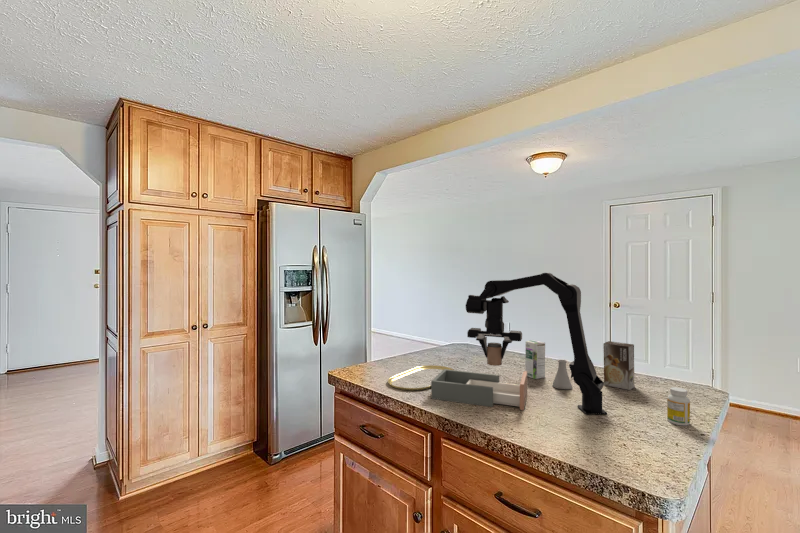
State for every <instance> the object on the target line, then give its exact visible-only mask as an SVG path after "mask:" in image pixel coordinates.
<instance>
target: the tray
mask: <svg viewBox="0 0 800 533" xmlns="http://www.w3.org/2000/svg"><path fill="white" fill-rule="evenodd" d="M466 384H470V385H479V386H487V387H493V404H498V405H504V406H505V405H506V406H511V407H512V406H514V407H519V410H521V411H524V410H525V406H526V402H527V397H528V376H527V371H525V370H523V372H522V375H521V379H520V381H519V384H514V383H508V382H507V383H506V382H500V381H499V382H490V381H481V380H472V379H470V380H469V381H468V382H467V383H466Z"/></svg>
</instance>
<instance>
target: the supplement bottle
mask: <svg viewBox="0 0 800 533" xmlns="http://www.w3.org/2000/svg"><path fill="white" fill-rule="evenodd" d="M669 389H670V390H669V392H670V394H668V395H667V397H666V398H667V400H666V401H667V405H666V407H667V410H666V412H667V413H666V414H667V416H666V418H667V421H668V422H669V423H670V424H673V425H677V426H682V427H683V426H684V427H685V426H689V425H690V423H691V400H690V398H689V397H688V390H687V389H685V388H683V387H676V386H675V387H674V386H672V387H670V388H669Z"/></svg>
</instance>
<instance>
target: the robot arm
mask: <svg viewBox="0 0 800 533" xmlns="http://www.w3.org/2000/svg"><path fill="white" fill-rule="evenodd" d="M543 285H544V286H545V287H546V288H548V289H549V290H550V291H551V292H552V293H554V294H555V295H557V297H558V299H559V302H560V304H561V307H562V309H563V310H564V313H565V314H566V319H567V321H566V322H567V324H568V332H569V336H570V341H571V342H570V343H571V346H572V352H573V358H574V359H573V360H572V361H571V362H570V363H569V364H568V366H569V370H570V373H571V375H570V378H571V379H573V381H574V383H575V384H576V385H578V387H579V390H580V393H581V404H578V405H577V408H579V410H581V411H582V412H583V413H584V414H586V415H608V412H607V411H606V410H604V409H603V391H602V389H603V387H604V386H605V385H604V380H602V379H601V378H600V377H599V376H598V375H597V371H596V368H595V366H594V363H593V361H592V359H591V358H590V356H589V352H588V347H587V342H586V337H585V336H586V334H585V331H584V325H583V321H582V316H581V307H582V306H581V305H582V292H581V289H580V287H579V286H577V284H576V285H575V284H573V283H571V284H569V283H567V282H566V281H564V280H562V279H561V278H558V277H556V276H555V275H554V274H553V273H551V272H542V273H540V274H536V275H535V274H534V275H530V276H525V277H519V278H515V279H510V280H509V279H497V280H496V279H493V280H489V281H487V282H486V283H485V285H484V289H483V291H482V292H481V293H480V295H475V294H468V296H467V297H468V298H467V299H466V302H465V310H466V313H468V314H477V315H478V314H479V315H483V314H484V313H485V312H486V319H485V322H484V327H485V328H486V330H482V329H481V327H471V328H469V329H468V330H467V332H466V334H467V338H469V339H470V338H471V339H475V341H478V342H479V345H480V346H481V348H482V351H483V353H484V356H485V358H486V359H487V345H488V342H487V341H488V338H487V337H492V338H493V337H494V338H503V341H502V343H501V346H502V354H501V358H502V360H503V359H504V356H505V353H506V351H507V348H508V345H509V344H512V342H521V341H522V340H523V333H522V331H521V330H510V331H509V332H505V322H504V320H503V319H504V316H503V315H504V304H508V303H509V300H508V299H507V298H506V297H505V295H504V294H509V293H510V292H512V291H516V290H521V289H526V288H532V287H536V286H537V287H538V286H543ZM502 295H503V296H502ZM499 296H500V297H499ZM489 299H491V300H489Z"/></svg>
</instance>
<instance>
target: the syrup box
mask: <svg viewBox="0 0 800 533" xmlns="http://www.w3.org/2000/svg"><path fill="white" fill-rule="evenodd" d="M524 347H525V349H524V352H525V363H524V365H525V367H524V369H525V370H524V371H527V378H528V377H529V378H531V379H533V380H538V379H544V378H546V342H543V341H538V340H534V339H532V340H531V339H530V340H526V341H525V346H524Z"/></svg>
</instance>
